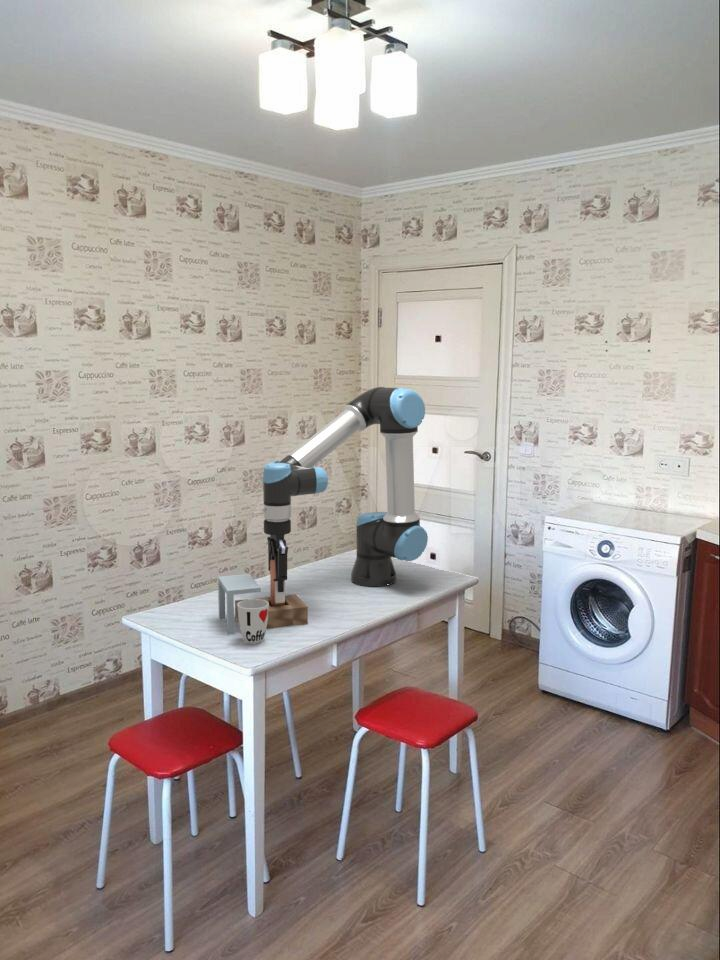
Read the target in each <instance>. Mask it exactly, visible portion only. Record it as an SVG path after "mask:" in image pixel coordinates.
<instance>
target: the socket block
mask: <svg viewBox="0 0 720 960" xmlns="http://www.w3.org/2000/svg"><path fill="white" fill-rule="evenodd" d="M248 599H249V598H248ZM248 599H247V598H246V599H237V600H235V599H234V619H236V621H237V622H238V624H239V619H238V606H237V604H238V603H239V602H240V601H243V600H248ZM254 599H261V600H265V601H267V602H268V603H269V607H268V621H267V627H266V630H269V629H270V630H271V629H278V628H285V627H292V626H294V627H295V626H303V625H308V624H309V622H308V621H309V619H308V618H309V617H308V615H309V613H308V611H309V610H308V609H309V608H308V605H307V604H305V602H304V601H303V600H302V599H301V598H300V597H299V596H298V595H297V593H296V594H295V593H294V594H293V593H292V594H285V605H284V606H274V607H271V596H268V597H267V596H266V597H257V598H254Z"/></svg>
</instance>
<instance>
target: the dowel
mask: <svg viewBox="0 0 720 960" xmlns="http://www.w3.org/2000/svg"><path fill="white" fill-rule="evenodd" d="M269 574H270V578H269V579H270V597H271V607H274V606H284V605H285V602H284V603H275V581H273V579H276V572H275V559H273V560H270V571H269Z"/></svg>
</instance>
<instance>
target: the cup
mask: <svg viewBox="0 0 720 960" xmlns="http://www.w3.org/2000/svg"><path fill="white" fill-rule="evenodd" d="M242 600H243V601H240V602H239V603H238V604H237V606H238V619H239V623H238V624H239V629H240V634H241V637H242V640H243V642H244V643H246V644H252V645H253V644H259V643H261V642H262V643H263V641H264V638H265V636H266V632H267V629H266V627H267V621H268V607H269V603H268V602H267V601H265V600H261V599H255V598H248V600H245V599H242Z"/></svg>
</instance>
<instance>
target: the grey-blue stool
mask: <svg viewBox="0 0 720 960" xmlns="http://www.w3.org/2000/svg"><path fill="white" fill-rule="evenodd" d="M217 587H218V588H217V589H218V590H217V591H218V593H217V595H218V619H219V621H220V620H226V634H227V635H229V636H230V635H234V634H235V598H234V597H235V596H234V595H242V594H243V595H244V594H253V593H254V594H255V593H261V592H262V588H261V586H260V585H259V583H257V581H256V580H255V579H254V577H253V576H252V575H251V574H250V573H243V574H233V575H223V576H222V575H221V576H217Z"/></svg>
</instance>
